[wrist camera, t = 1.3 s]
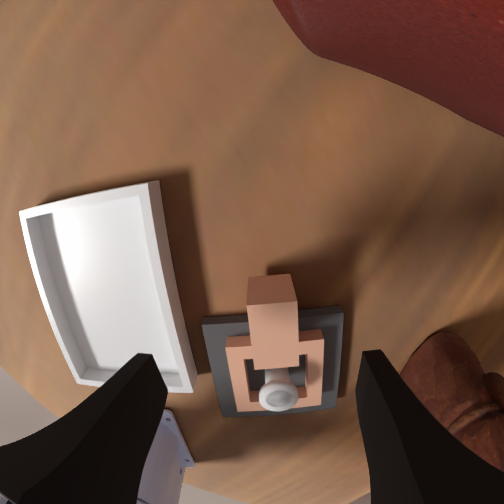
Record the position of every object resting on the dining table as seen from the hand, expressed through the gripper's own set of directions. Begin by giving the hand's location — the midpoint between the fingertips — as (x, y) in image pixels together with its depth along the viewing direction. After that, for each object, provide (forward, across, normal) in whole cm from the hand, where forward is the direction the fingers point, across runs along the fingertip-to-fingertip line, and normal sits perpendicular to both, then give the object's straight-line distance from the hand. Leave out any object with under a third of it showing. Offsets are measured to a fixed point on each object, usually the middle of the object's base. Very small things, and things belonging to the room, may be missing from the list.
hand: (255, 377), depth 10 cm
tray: (+8, +11, +2) cm, 14 cm away
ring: (+8, 0, +6) cm, 10 cm away
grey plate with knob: (+8, 0, +8) cm, 12 cm away
